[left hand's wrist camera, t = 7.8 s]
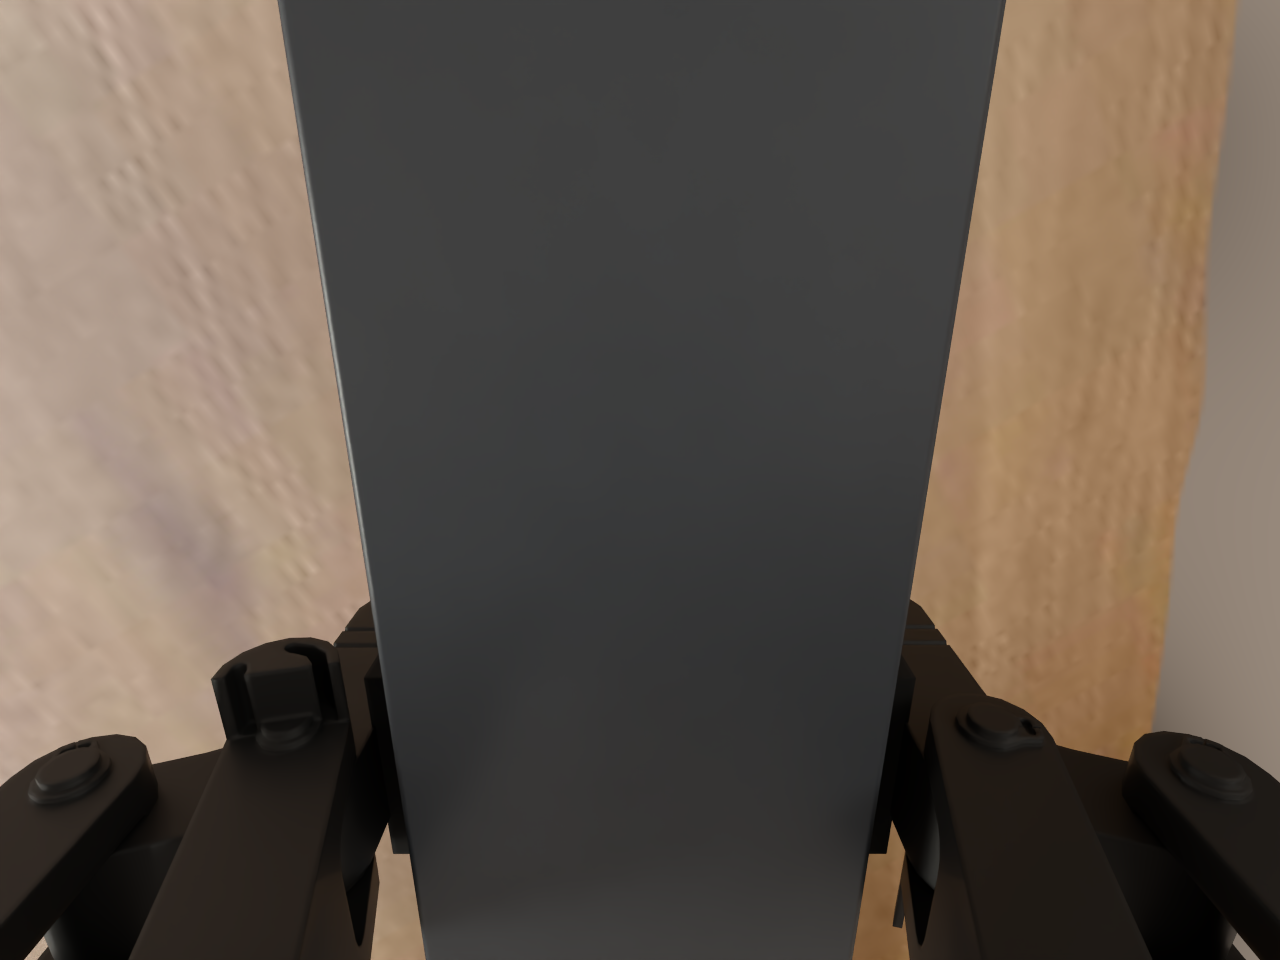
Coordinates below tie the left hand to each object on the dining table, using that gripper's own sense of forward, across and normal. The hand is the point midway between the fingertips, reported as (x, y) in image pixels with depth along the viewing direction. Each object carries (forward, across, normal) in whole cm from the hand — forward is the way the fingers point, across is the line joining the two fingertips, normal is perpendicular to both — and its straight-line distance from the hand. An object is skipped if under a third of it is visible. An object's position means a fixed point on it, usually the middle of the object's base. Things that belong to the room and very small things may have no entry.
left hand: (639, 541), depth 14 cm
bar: (+1, 0, -8) cm, 8 cm away
